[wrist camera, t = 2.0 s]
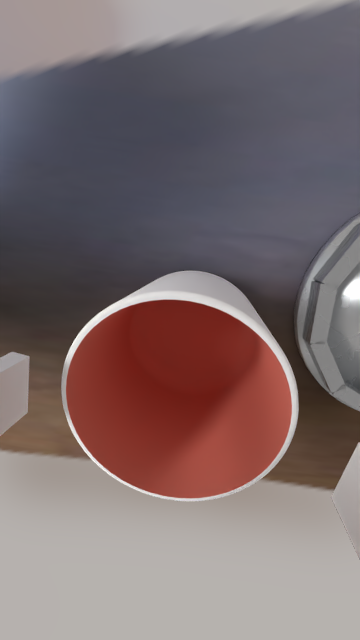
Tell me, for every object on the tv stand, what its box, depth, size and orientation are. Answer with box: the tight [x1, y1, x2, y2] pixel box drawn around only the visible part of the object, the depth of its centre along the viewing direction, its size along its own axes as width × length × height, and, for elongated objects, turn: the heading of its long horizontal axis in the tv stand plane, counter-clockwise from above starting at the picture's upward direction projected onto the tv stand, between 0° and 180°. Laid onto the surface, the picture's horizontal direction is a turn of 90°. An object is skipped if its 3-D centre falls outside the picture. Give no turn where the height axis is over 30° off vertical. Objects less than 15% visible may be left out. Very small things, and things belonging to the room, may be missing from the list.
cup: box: [61, 271, 299, 501], centre depth 15 cm, size 10×10×10 cm
